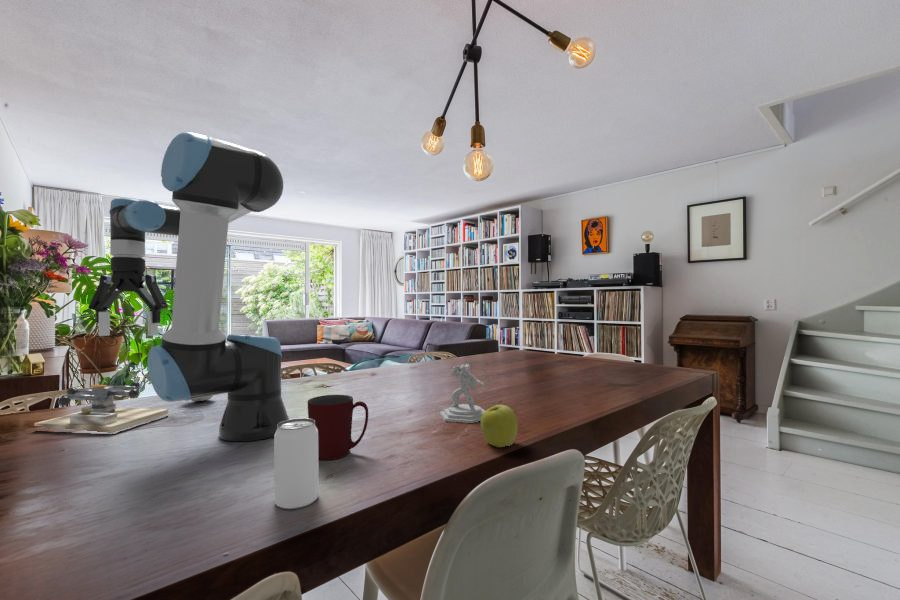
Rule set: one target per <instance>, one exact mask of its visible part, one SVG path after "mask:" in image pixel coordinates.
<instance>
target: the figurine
mask: <svg viewBox="0 0 900 600" xmlns="http://www.w3.org/2000/svg"><path fill="white" fill-rule="evenodd" d="M451 369H452V370H451V371H450V375H451V376H453V377H454V378H457V379H458V380H457V383H458V384H460V385H459V386H460V387H459V388H457V389H455V390H454V391H453V392H452V393H451V398H452V401H453V404H452V405H450V406H449V407H448V408H444V409H443V410H442V411H439V416H440V417H441V416H442V417H441V418H442V419H443V421H444V422H445V421H448V423H456V422H463V423H462V424H468V423H473V424H475V423H474V422H476V423H479V422H478V421H480V422H481V416H482V414H483V413H484V412H485V411H486V410H485V409H484V408H482V407H481V406H479V405H475V404H474V397H473V396H472V393H471V391H470V390H469V387H470V388H471V390H473V391H474V392H476V394H477V393H478V391H477V388H476V386H475V385H476V384H477V385H478V386H480V387H486V384H485V383H484V382H482V380H479V379H478V377H476V376H475V375H474V374H471V373H470V370H471V365H470V364H469V363H466V364H465V363H461V365H457V366H453V368H451ZM474 383H475V384H474ZM463 394H464V398H465V399H466V400H465V401H466V403H461V404H460V401H461V399H460V396H462V395H463Z"/></svg>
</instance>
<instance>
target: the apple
mask: <svg viewBox="0 0 900 600" xmlns="http://www.w3.org/2000/svg"><path fill="white" fill-rule="evenodd" d="M502 402H503V401H502V400H500V401H499V403H498V404H495V405H493V406H491V407H489V408H487V409H486V410H485V412H484V413H483V414H482V416H481V421H480V428H481V432H482V434H483V436H484V439H485V440H486V441H487V442H488V444H490V445H491V446H493V447H495V448H505V446H509V447H510V445H511V446H512V445H513V444H514V442H515V440H516V437H517V434H518V427H519V426H518V420H517V416H516V414H515V412H514V411H513V409H512V408H510V407H509V406H508V405H505V404H501V403H502Z"/></svg>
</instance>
